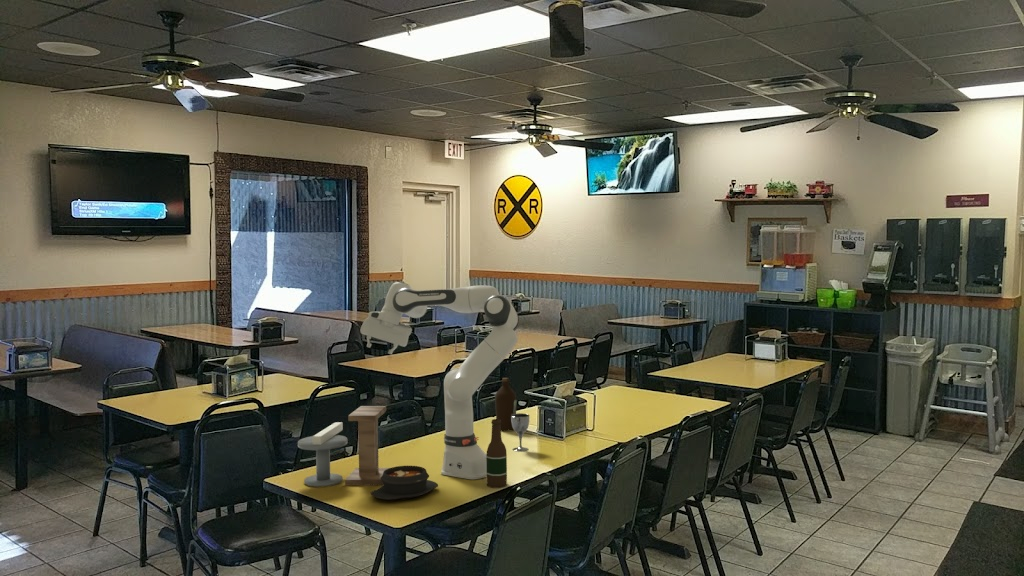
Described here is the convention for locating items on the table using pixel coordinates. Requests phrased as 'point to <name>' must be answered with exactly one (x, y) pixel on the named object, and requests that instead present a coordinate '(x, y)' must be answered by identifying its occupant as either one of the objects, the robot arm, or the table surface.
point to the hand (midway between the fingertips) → (379, 350)
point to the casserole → (404, 483)
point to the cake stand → (323, 460)
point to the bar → (327, 433)
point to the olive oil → (505, 405)
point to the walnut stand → (367, 446)
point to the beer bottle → (496, 458)
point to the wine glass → (520, 427)
